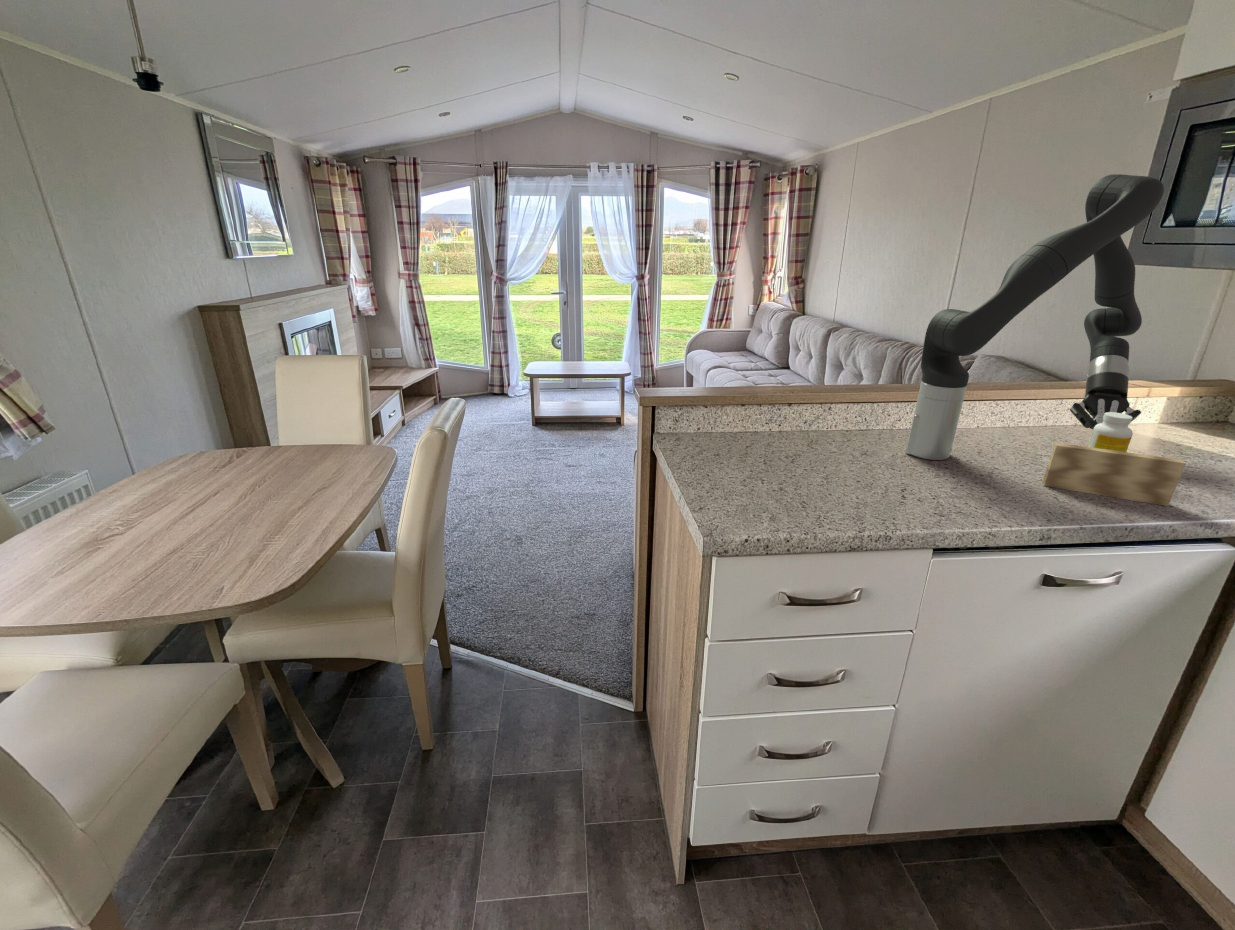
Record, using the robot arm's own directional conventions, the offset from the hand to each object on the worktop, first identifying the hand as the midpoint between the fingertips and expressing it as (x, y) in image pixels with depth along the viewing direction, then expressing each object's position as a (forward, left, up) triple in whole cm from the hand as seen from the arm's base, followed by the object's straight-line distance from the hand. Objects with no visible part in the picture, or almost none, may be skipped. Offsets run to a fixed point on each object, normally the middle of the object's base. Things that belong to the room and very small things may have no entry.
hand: (1101, 444), depth 128 cm
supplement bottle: (0, -4, -5) cm, 6 cm away
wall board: (-2, -17, -5) cm, 17 cm away
